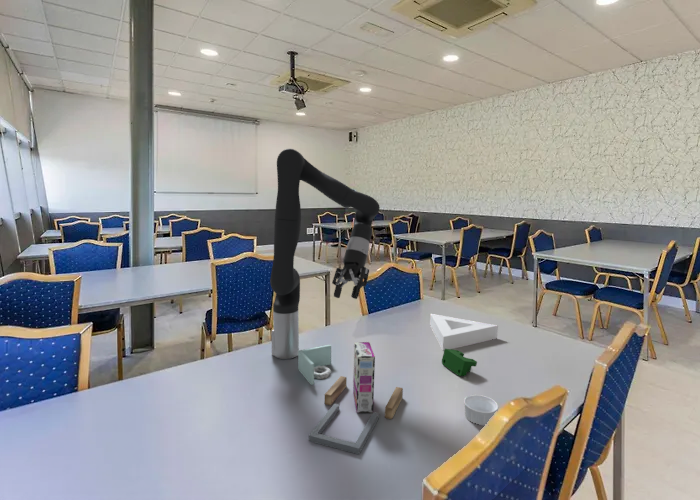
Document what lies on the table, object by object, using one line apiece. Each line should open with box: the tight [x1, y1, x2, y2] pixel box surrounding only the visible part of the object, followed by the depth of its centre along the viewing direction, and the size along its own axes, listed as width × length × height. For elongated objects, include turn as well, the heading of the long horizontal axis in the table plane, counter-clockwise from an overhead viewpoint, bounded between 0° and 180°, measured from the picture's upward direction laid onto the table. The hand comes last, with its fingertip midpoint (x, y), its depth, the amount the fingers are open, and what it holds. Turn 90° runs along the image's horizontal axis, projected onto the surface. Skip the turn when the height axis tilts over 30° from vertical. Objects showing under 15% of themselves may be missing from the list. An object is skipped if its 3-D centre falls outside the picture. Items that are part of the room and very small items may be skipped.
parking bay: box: [308, 403, 380, 455], centre depth 97 cm, size 13×16×2 cm
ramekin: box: [463, 394, 499, 427], centre depth 103 cm, size 9×9×4 cm
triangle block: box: [429, 313, 499, 352], centre depth 158 cm, size 30×26×6 cm
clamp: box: [441, 349, 478, 377], centre depth 131 cm, size 12×6×9 cm, turn 15°
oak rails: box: [324, 375, 404, 420], centre depth 110 cm, size 20×12×3 cm, turn 69°
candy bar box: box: [352, 341, 376, 414], centre depth 108 cm, size 11×5×16 cm, turn 5°
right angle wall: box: [297, 344, 332, 386], centre depth 127 cm, size 12×12×8 cm
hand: (345, 297), depth 125 cm, fingers open, 8 cm apart
